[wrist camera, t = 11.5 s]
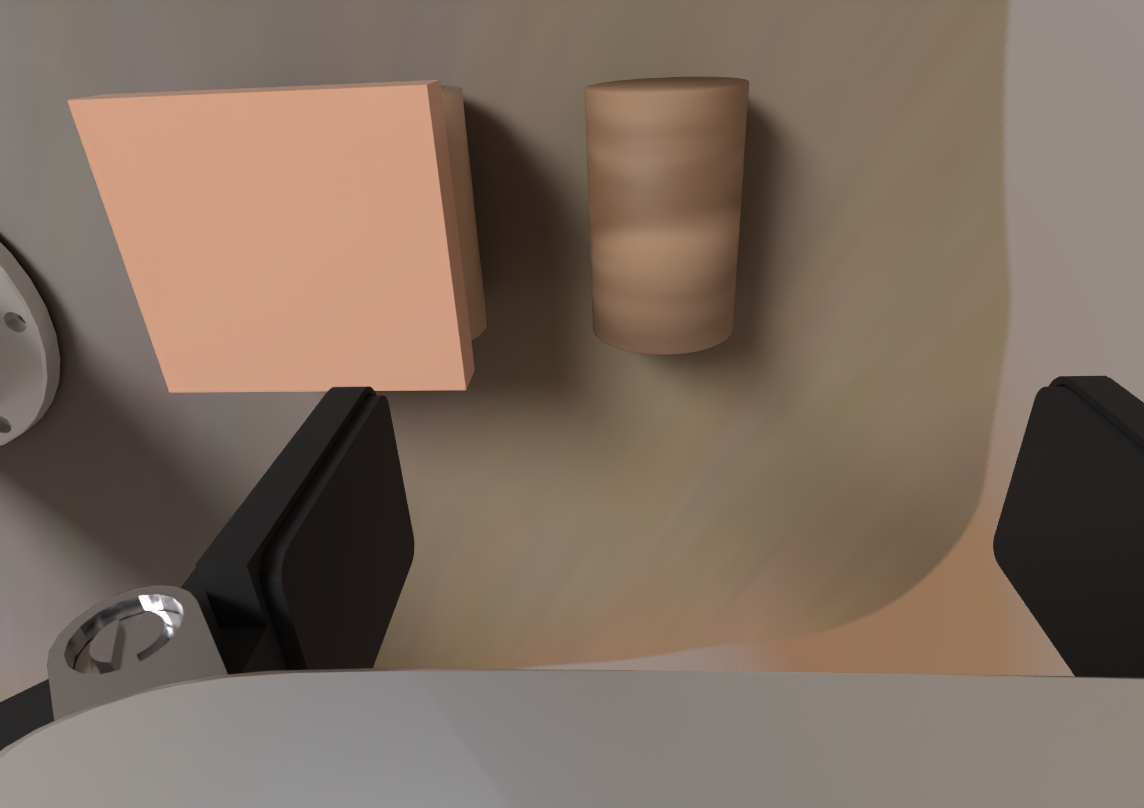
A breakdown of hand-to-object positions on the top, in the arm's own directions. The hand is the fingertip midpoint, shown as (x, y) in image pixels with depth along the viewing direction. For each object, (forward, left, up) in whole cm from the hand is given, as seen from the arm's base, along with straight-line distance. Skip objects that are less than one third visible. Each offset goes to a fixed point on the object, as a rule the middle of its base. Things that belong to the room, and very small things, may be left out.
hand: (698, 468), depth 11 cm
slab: (-11, 0, -18) cm, 21 cm away
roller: (0, 0, -18) cm, 18 cm away
